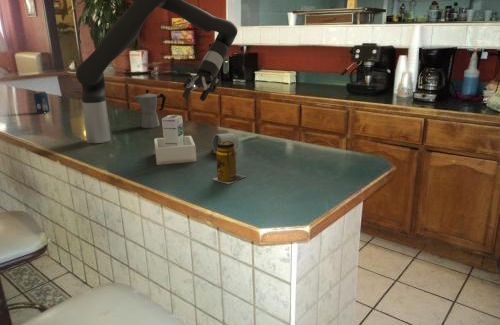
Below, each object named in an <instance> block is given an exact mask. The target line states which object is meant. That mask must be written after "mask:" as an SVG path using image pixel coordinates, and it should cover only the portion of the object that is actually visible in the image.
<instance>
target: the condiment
mask: <svg viewBox="0 0 500 325" xmlns="http://www.w3.org/2000/svg"><path fill="white" fill-rule="evenodd" d="M217 150H218V151H217V153H215V154H216V172H217V173H216V174H217V175H216V176H217V177H214V178H212V180H214V181H217V182H219V183H222V184H227V185H230V184H232V183H235V182H237V181H239V180H241V179H244V178H245V177H247V175H241V174H238V173H237V167H236V166H237V156H236V155H237V154H236V153H237V152H236V150H234V143H233V142H230V141H222V142H219V143H218V144H217Z"/></svg>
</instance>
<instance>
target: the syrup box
mask: <svg viewBox="0 0 500 325" xmlns="http://www.w3.org/2000/svg"><path fill="white" fill-rule="evenodd" d="M161 122H162V123H161V124H162V134H163V138H164V146H165V147H173V146H185V144H184V136H185V134H184V122H183V115H179V114H168V115H166V116H165V117H163V118H161Z"/></svg>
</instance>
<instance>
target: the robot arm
mask: <svg viewBox="0 0 500 325" xmlns="http://www.w3.org/2000/svg"><path fill="white" fill-rule="evenodd" d="M156 8H160V9H162V10H166V11H167V12H168V11H169V12H170V13H173V14H175V16H178V17H180V18H181V19H184V20H185V21H186V22H188V23H190V24H191V25H192V26H194V27H196V28H198V29H199V30H201V31H204V32H205V33H207V34H211V33H212V32H215V33H217V35H216V37H215V39H214V40H213V42H212V43H211V45H210V47H209V48H208V51H207V52H206V54H205V55H204V57H203V59H202V60H201V62H200V64H199V66H198V68H197V72H196V74H195V76H194V75H192V74H188V76H187V78H186V80H185V81H184V83H183V85H182V87H184V92H183V93H182V97H183V99H184V100H188V98H189V96H190V95H191V93H192V91H194V90H196V89H198V88H201V89H203V90H202V92H201V94H200V96H199V100H200V101H201V102H204V101H205V100H207V98H208V95H209V94H210V93H212V94H213V93H215V91H216V90H217V87H218V84H219V83H220V80H219V79H218V77H217V75H218V73H219V71H220V69H221V67H222V65H223V62H224V60H225V59H226V56H227V54H228V52H229V50H230V48H231V47H232V44H233V42H234V41H235V39H236V37H237V36H238V27H237V26H236V25H235V24H234V22H233V21H230V20H228V19H225V18H221V17H218V16H214V15H212V14H211V13H209V12H208V11H205V10H204V9H202V8H200V7H199V6H196V5H194V4H191V3H189V2H187V1H186V0H134V1H133V2H132V3H131V5H130V6H129V7H128V8H127V9H126V10H125V11H124V12H123V13H122V14H121V16H120V17H119V18H118V19H117V20H116V21H115V22H114V23H113V25H112V26H111V27H110V28H109V30H108V31H107V32H106V34H105V35H104V36H103V38H102V39H101V40H100V43H98V45H97V47H96V48H95V49H94V51H92V53H91V54H90V55H88V57H87V58H86V59H85V60H83V62H82V63H80V64H79V65H78V67H77V69H76V70H75V77H76V80H77V81H78V83H79V84H81V89H82V91H81V92H82V93H81V103H82V109H83V116H84V117H83V118H84V120H83V122H84V131H85V135H86V136H85V137H86V141H87V144H101V143H102V144H103V143H108V142H110V141H111V132H110V124H109V116H108V109H107V108H108V107H107V100H106V84H105V74H104V72H105V70H106V69H107V68H108V67H109V66H110V64H111V63H112V62H113V61H114V60H115V59H116V58H118V57H119V56H120V55H121V54H122V53H124V51H125V50H127V48H128V47H130V46H131V44H132V43H133V42H134V40H135V39H136V38H137V36H138V35H139V33H140V31H141V30H142V28H143V25H144V23H145V22H146V20H147V18H148V17H149V16H150V15H151V13H152V12H153V11H155V9H156Z"/></svg>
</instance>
